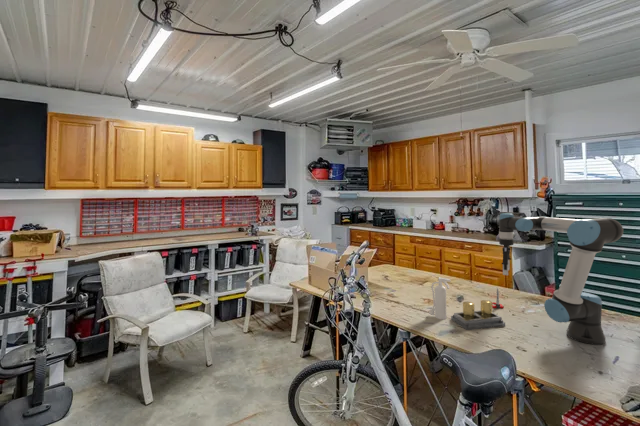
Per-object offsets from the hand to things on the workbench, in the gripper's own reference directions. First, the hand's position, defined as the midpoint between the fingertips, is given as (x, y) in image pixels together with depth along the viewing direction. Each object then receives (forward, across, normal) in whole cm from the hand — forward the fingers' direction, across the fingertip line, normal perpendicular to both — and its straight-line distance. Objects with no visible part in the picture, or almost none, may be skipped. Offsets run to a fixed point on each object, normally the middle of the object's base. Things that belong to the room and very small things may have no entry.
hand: (506, 272), depth 190 cm
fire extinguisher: (+26, -26, +34) cm, 50 cm away
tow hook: (+26, +11, +7) cm, 29 cm away
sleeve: (+24, -20, +9) cm, 32 cm away
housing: (+26, -24, +13) cm, 37 cm away
